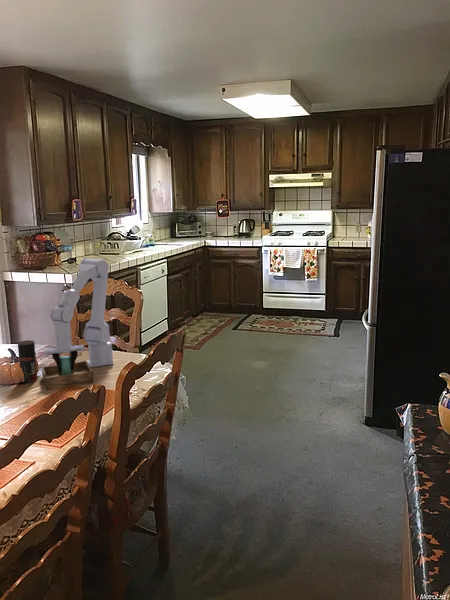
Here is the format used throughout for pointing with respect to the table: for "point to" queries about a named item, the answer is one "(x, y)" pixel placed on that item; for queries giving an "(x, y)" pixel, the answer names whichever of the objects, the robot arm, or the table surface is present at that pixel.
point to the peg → (65, 365)
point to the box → (67, 376)
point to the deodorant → (27, 360)
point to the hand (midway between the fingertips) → (66, 370)
